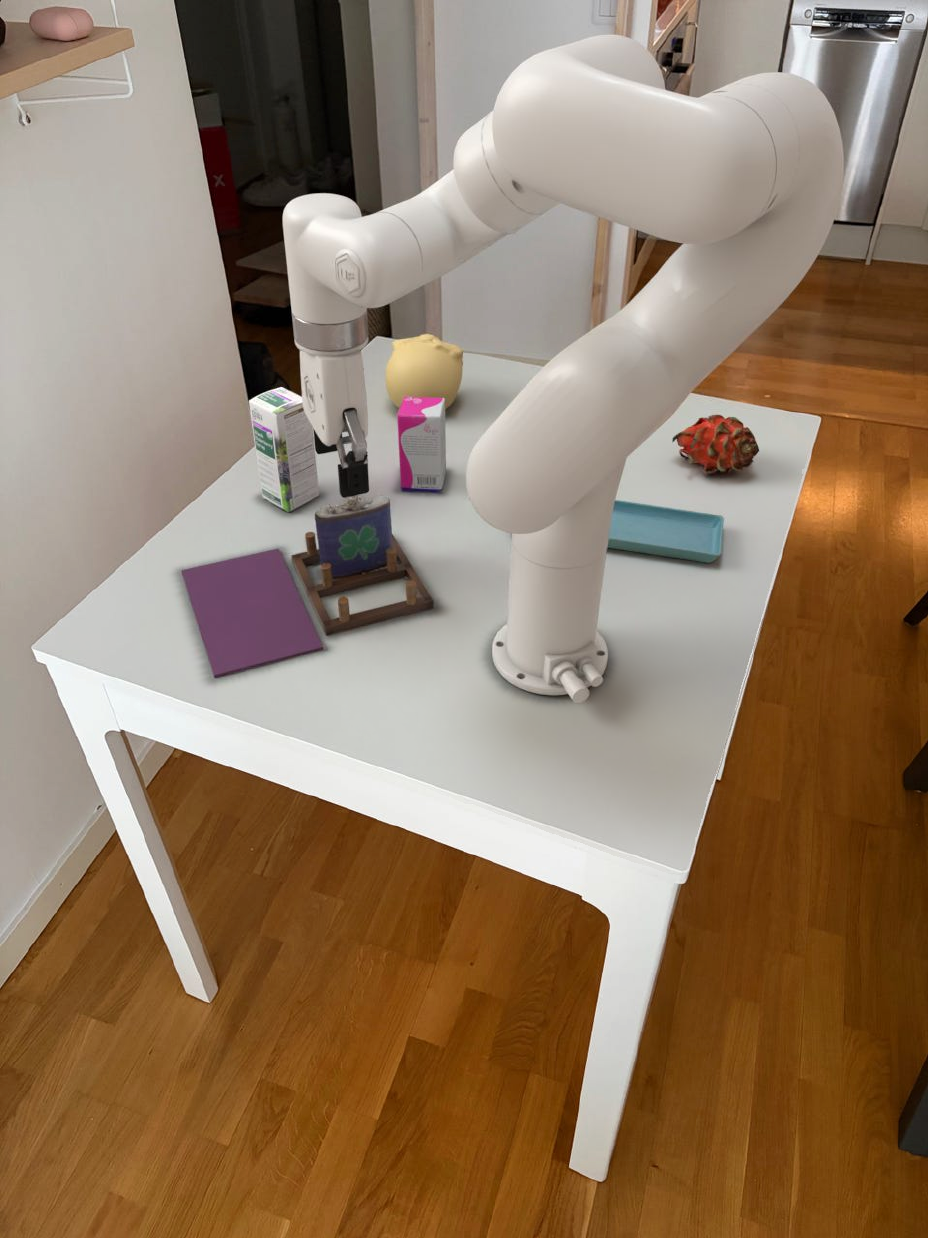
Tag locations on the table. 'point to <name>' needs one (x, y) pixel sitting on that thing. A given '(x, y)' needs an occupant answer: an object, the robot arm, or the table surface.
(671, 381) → the robot arm
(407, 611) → the dish rack
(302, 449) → the syrup box
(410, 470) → the supplement box
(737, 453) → the dragon fruit
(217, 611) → the mat
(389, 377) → the sculpture
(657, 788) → the table surface
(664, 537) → the teal serving tray
